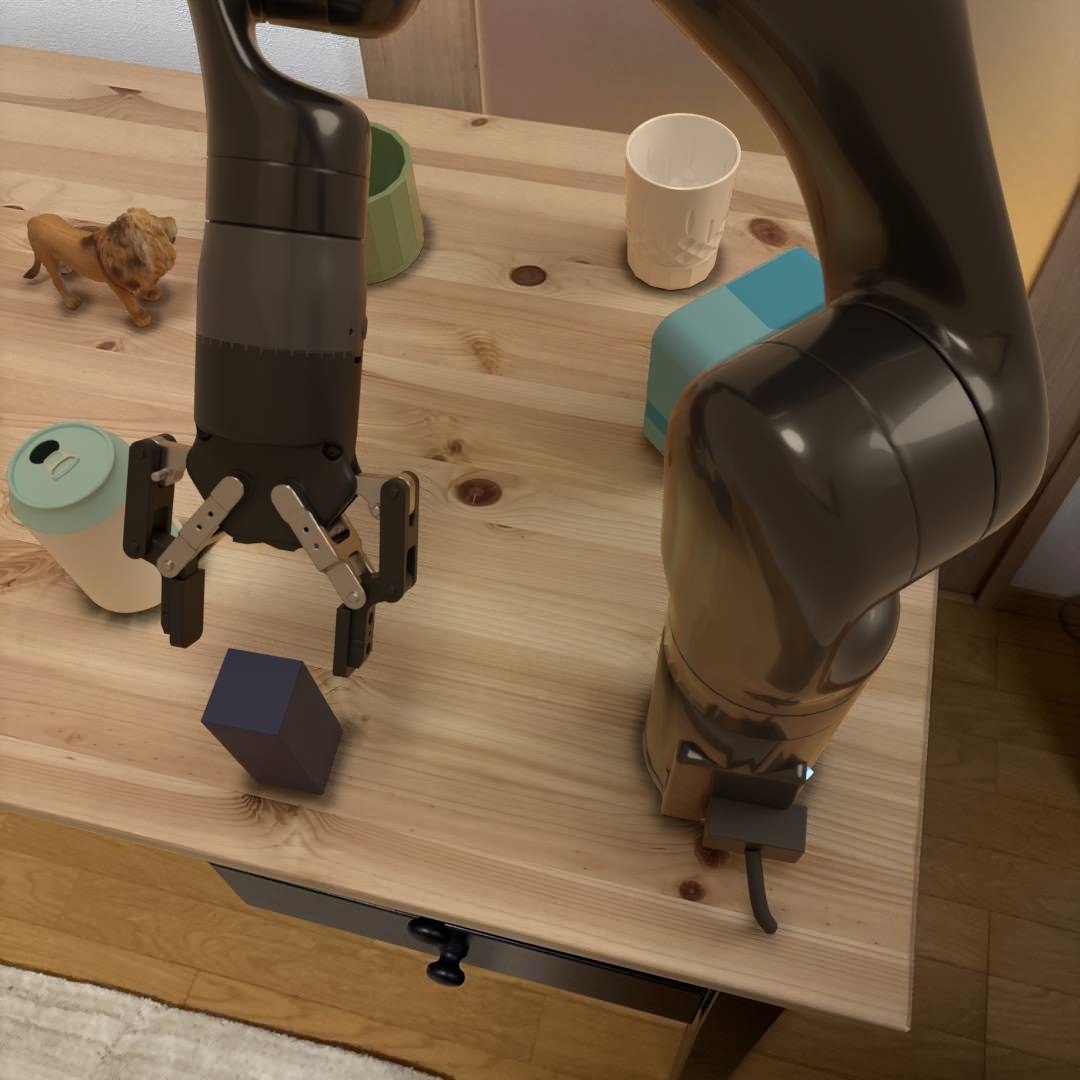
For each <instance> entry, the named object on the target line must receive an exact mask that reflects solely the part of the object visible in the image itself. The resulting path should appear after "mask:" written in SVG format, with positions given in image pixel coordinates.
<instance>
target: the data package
mask: <svg viewBox="0 0 1080 1080" xmlns="http://www.w3.org/2000/svg"><path fill="white" fill-rule="evenodd" d="M822 309H824V287H823V278H822V272H821V266H820V260H819V258H817V257H816V256H814V255H813V254H812V253H811V252H810V251H809V250H808V249H806V247H803V246H794V247H791V248H789V249H787V250H785V251H783V252H781V253H779V254H778V255H775V256H773V257H772V258H770V259H768V260H767V261H765V262H763V263H761V264H759V265H757V266H755V267H753V268H752V269H750V270H748V271H746V272H744V273H742V274H740V275H739V276H737V277H735V278H733V279H731V280H729V281H727V282H726V283H724V284H722V285H720V286H718V287H716V288H714V289H712V290H711V291H709V292H707V293H705V294H703V295H701V296H699V297H697V298H696V299H694V300H692V301H690V302H688V303H686V304H685V305H683V306H681V307H679V308H677V309H675V310H674V311H671V312H670V313H669V314H668V315H666V316H665V318H663V319H662V320H661V321H660V323H659V324H658V325H657V327H656V328H655V330H654V332H653V334H652V337H651V343H650V355H649V364H648V374H647V383H646V397H645V404H644V413H643V414H644V415H643V424H642V425H643V426H642V432H643V435H644V436H645V437H646V438H647V440H648V441H649V442H650V443H651V444H652V445H653V446H654V447H655V449H657V451H658V452H659V453H660V454H661V455H662V456H663V457H664V455H665V443H666V435H667V430H668V425H669V421H670V418H671V414H672V411H673V409H674V406H675V404H676V402H677V400H678V398H679V397H680V395H681V393H682V392H683V390H684V389H685V388H686V387H687V385H688V384H689V383H690V382H691V381H692V380H693V379H694V378H695V377H696V376H698V375H699V374H701V373H702V372H704V371H705V370H707V369H709V368H711V367H713V366H715V365H717V364H719V363H720V362H722V361H724V360H726V359H728V358H730V357H732V356H734V355H736V354H737V353H739V352H741V351H743V350H745V349H747V348H749V347H751V346H753V345H755V344H757V343H759V342H761V341H762V340H764V339H766V338H768V337H770V336H772V335H774V334H776V333H778V332H780V331H782V330H784V329H786V328H788V327H790V326H791V325H793V324H795V323H797V322H799V321H801V320H803V319H805V318H807V317H809V316H811V315H813V314H815V313H817V312H819V311H820V310H822Z"/></svg>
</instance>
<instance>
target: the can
mask: <svg viewBox="0 0 1080 1080" xmlns="http://www.w3.org/2000/svg"><path fill="white" fill-rule="evenodd" d="M130 446H131V445H130V444H129V443H128V442H126V441H125V440H124V439H123V438H121V437H120V436H118V435H117V434H115V433H113V432H110V431H108V430H105V429H103V428H101V427H100V426H98V425H96V424H94V423H91V422H87V421H83V420H68V421H61V422H56V423H53V424H49V425H48V426H44V427H43V428H41V429H39V430H37V431H35V432H34V433H32V434H31V435H29V437H27V438H26V439H24V441H22V442H21V444H19V445H18V446H17V448H16V449H15V451H14V452H13V454H12V455H11V457H10V459H9V461H8V464H7V468H6V483H7V487H8V501H9V504H10V508H11V510H12V512H13V515H14V516H15V518H17V520H18V521H19V522H20V523H21V524H22V525H23V526H24V528H25V529H26V530H27V531H28V532H29V533H30V534H31V535H32V537H34V539H35V540H36V541H37V542H38V543H39V544H40V545H41V546H42V547H43V548H44V549H45V550H46V552H48V554H49V555H50V556H51V557H52V558H53V559H54V560H55V562H57V564H58V565H59V566H60V567H61V568H62V569H63V571H65V572H66V573H67V575H68V576H69V577H70V578H71V579H72V580H73V581H74V582H75V583H76V584H77V585H78V586H79V588H80V589H81V590H82V591H83V592H84V593H85V594H86V595H87V596H88V597H89V599H90V600H91V601H92V602H94V604H96V605H98V606H99V607H101V608H102V609H105V610H107V611H111V612H114V613H120V614H121V613H122V614H123V613H124V614H126V613H127V614H128V613H136V612H141V611H145V610H148V609H152V608H154V607H156V606H159V605H161V581H162V580H161V574H160V572H159V571H158V569H157V568H156V567H155V566H154V565H153V564H151V563H149V562H147V561H145V560H144V559H142V558H140V559H132V558H129V557H128V556H127V555H126V554H125V552H124V550H123V532H124V517H125V502H126V487H127V472H128V457H129V448H130ZM182 527H183V524H182V523H181V521H180V520H179V519H178V517H177V516H176V514H175V512H173V514H172V526H171V535H172V536H174V537H177V536H178V532H179V530H180V529H181V528H182Z"/></svg>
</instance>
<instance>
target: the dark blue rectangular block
mask: <svg viewBox="0 0 1080 1080" xmlns="http://www.w3.org/2000/svg"><path fill="white" fill-rule="evenodd" d="M200 723H201V724H202V725H203V726H204V727H205V728H206V729H207V731H209V733H211V734H212V735H213V737H214V738H215V739H216V740H217V741H218V742H219V743H220V744H221V746H223V747H224V749H225V750H226V751H227V752H228V753H229V754H230V755H231V756H232V757H233V758H234V759H235V761H236V762H238V764H239V765H240V766H241V767H242V768H243V769H244V770H245V771H246V772H247V774H249V776H251V778H252V779H253V780H254V781H255V782H256V783H261V784H265V785H271V786H275V787H281V788H286V789H291V790H296V791H301V792H307V793H312V794H317V795H323V794H324V792H325V788H326V785H327V782H328V778H329V775H330V772H331V768H332V765H333V762H334V759H335V756H336V753H337V749H338V746H339V742H340V739H341V737H342V733H343V729H344V728H343V726H342V725H341V723H340V721H339V719H338V718H337V717H336V714H335V713H334V711H333V710H332V708H331V707H330V703H328V701H327V699H326V697H325V695H324V694H323V693H322V691H321V689H320V688H319V686H318V684H317V681H315V679H314V677H313V675H312V673H311V672H310V670H309V668H308V667H307V665H306V663H305V662H304V661H303V660H302V659H301V660H300V659H296V658H289V657H285V656H277V655H274V654H273V655H272V654H266V653H261V652H256V651H255V652H254V651H249V650H245V649H238V648H232V647H228V648H227V651H226V653H225V656H224V659H223V661H222V664H221V666H220V669H219V671H218V674H217V676H216V679H215V682H214V685H213V687H212V690H211V692H210V694H209V697H208V700H207V703H206V705H205V708H204V710H203V713H202V716H201V718H200Z"/></svg>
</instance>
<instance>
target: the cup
mask: <svg viewBox="0 0 1080 1080" xmlns="http://www.w3.org/2000/svg"><path fill="white" fill-rule="evenodd" d="M369 124H370V128H371V138H372V147H371V165H370V178H369V179H368V180H369V181H370V182H369V196H368V211H367V225H366V238H365V239H361V241H364V242H365V266H366V279H367V285H372V284H377V283H380V282H383V281H387V280H389V279H392V278H394V277H396V276H397V275H400V274H401V273H403V272H405V270H407V269H408V268H409V267H410V266H412V264H413V263H414V262H415V261H416V260H417V258H418V257H419V255H420V254H421V252H422V249H423V246H424V243H425V229H424V224H423V219H422V212H421V207H420V200H419V195H418V189H417V182H416V176H415V171H414V164H413V160H412V154H411V150H410V149H411V148H410V145H409V144H408V142H407V141H406V140H405V139H404V138H403V137H402V136H401V135H400V134H399V133H398V132H397V131H396V130H394V129H393V128H390V127H388V126H385V125H383V124H381V123H378V122H375V121H369Z"/></svg>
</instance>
